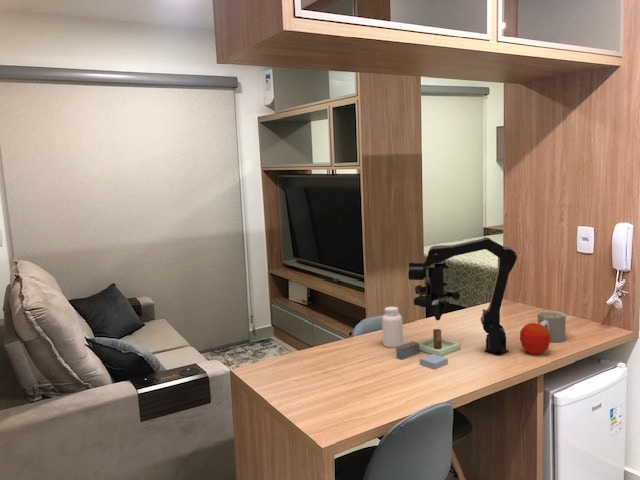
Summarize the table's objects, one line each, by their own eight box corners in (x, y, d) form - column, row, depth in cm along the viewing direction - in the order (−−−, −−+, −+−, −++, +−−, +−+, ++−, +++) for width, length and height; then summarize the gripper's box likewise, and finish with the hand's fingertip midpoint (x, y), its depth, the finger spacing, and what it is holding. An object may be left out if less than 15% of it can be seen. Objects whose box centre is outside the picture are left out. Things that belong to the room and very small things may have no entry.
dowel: (443, 347, 203) (442, 330, 202) (438, 349, 201) (437, 331, 200) (437, 346, 205) (436, 328, 204) (432, 347, 203) (431, 330, 202)
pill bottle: (380, 346, 209) (378, 310, 207) (387, 340, 216) (385, 304, 214) (399, 349, 206) (397, 311, 204) (405, 342, 213) (404, 306, 211)
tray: (460, 349, 202) (460, 343, 201) (439, 357, 195) (439, 351, 194) (436, 342, 211) (435, 336, 211) (415, 349, 204) (415, 344, 204)
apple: (554, 351, 194) (554, 321, 192) (542, 359, 187) (542, 327, 186) (527, 345, 201) (527, 316, 200) (515, 353, 195) (514, 322, 193)
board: (448, 365, 188) (447, 358, 188) (434, 370, 184) (434, 363, 183) (432, 360, 193) (432, 353, 193) (419, 365, 189) (419, 358, 189)
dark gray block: (419, 353, 200) (419, 343, 199) (402, 359, 195) (402, 349, 194) (413, 351, 202) (413, 341, 202) (396, 357, 197) (396, 347, 196)
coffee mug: (548, 333, 214) (548, 309, 213) (570, 339, 206) (571, 314, 204) (526, 339, 208) (526, 315, 207) (547, 346, 199) (548, 320, 198)
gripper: (439, 273, 210) (440, 311, 212) (403, 280, 200) (404, 320, 202) (460, 277, 200) (461, 317, 203) (423, 285, 191) (425, 327, 193)
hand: (437, 320), depth 200 cm, fingers closed
